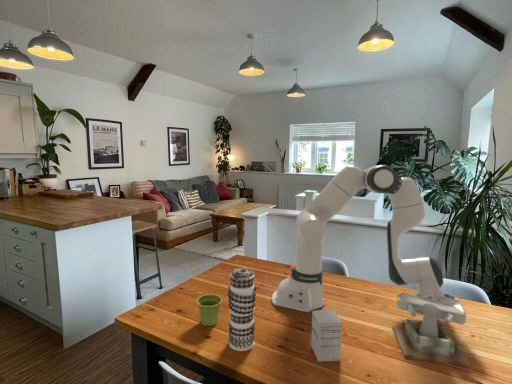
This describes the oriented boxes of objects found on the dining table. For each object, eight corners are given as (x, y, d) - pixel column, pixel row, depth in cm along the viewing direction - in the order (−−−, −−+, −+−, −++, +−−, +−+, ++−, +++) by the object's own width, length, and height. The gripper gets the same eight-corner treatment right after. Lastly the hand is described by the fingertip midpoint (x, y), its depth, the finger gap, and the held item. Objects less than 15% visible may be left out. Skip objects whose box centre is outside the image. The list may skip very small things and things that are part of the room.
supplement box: (310, 346, 94) (311, 309, 92) (332, 345, 94) (334, 309, 93) (317, 362, 87) (318, 322, 85) (341, 361, 87) (342, 321, 86)
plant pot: (212, 312, 114) (212, 291, 113) (227, 322, 107) (227, 300, 106) (191, 321, 107) (191, 299, 107) (206, 332, 101) (206, 309, 100)
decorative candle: (237, 331, 102) (238, 263, 99) (260, 339, 97) (261, 268, 94) (222, 345, 94) (222, 271, 91) (246, 355, 89) (246, 278, 86)
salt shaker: (440, 350, 91) (443, 311, 90) (420, 346, 93) (423, 308, 92) (435, 339, 97) (438, 302, 95) (416, 336, 99) (418, 299, 97)
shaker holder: (404, 357, 89) (405, 340, 89) (392, 328, 105) (393, 313, 104) (470, 367, 85) (472, 349, 85) (447, 335, 101) (448, 320, 100)
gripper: (398, 285, 110) (394, 300, 98) (464, 299, 99) (469, 317, 88) (397, 301, 111) (393, 318, 99) (462, 316, 100) (467, 337, 88)
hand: (429, 318), depth 93 cm, fingers open, 8 cm apart
